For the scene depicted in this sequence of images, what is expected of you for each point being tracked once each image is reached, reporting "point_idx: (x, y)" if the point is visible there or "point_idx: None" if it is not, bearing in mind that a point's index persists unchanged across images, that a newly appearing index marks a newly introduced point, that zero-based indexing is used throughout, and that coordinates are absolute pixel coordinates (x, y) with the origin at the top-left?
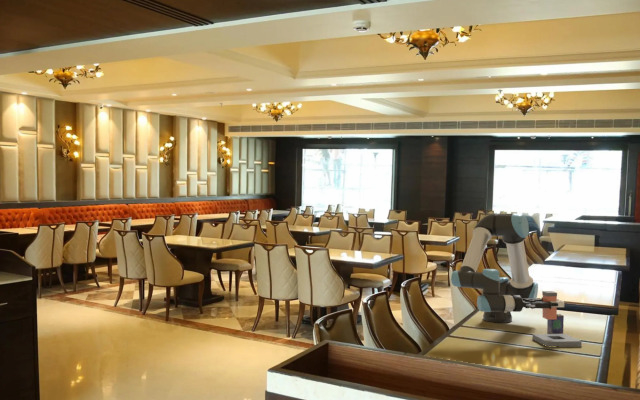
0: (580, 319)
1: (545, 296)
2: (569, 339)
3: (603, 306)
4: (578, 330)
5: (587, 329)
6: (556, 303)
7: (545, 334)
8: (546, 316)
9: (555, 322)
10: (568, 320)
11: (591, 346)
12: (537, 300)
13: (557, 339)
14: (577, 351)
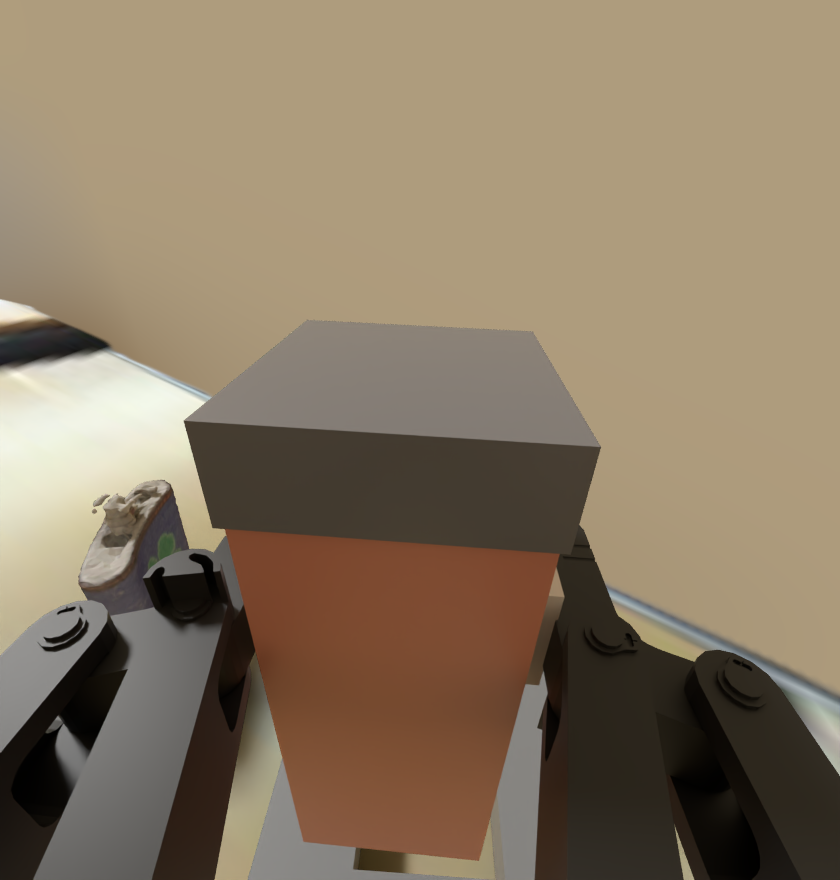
0: (70, 408)
1: (429, 559)
2: None
3: (32, 325)
4: (198, 488)
5: None
6: (587, 544)
7: (279, 831)
8: (457, 837)
9: None
10: (34, 438)
11: None
12: (171, 844)
13: (505, 823)
14: None
